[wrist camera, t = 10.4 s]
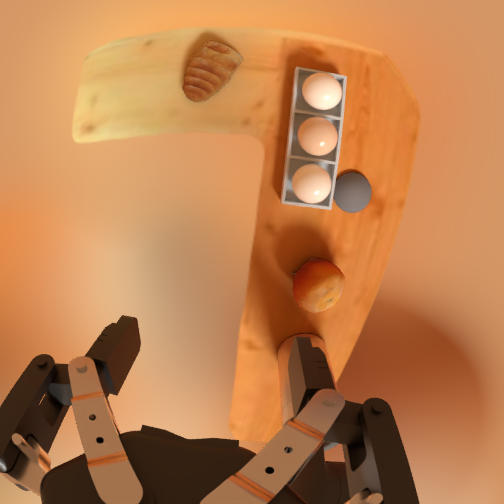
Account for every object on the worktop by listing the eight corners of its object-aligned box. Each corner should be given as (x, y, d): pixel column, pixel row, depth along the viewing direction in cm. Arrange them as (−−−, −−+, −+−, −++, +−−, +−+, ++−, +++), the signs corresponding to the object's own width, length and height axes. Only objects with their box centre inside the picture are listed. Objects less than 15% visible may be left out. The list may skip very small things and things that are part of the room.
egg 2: (323, 201, 38) (332, 209, 33) (287, 197, 38) (291, 204, 33) (328, 165, 36) (338, 168, 31) (292, 160, 36) (297, 162, 31)
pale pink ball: (333, 122, 33) (344, 118, 29) (329, 158, 35) (340, 159, 30) (297, 116, 33) (302, 111, 29) (293, 152, 35) (298, 152, 30)
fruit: (305, 238, 39) (337, 275, 34) (331, 254, 44) (360, 287, 39) (270, 278, 42) (295, 317, 36) (299, 288, 47) (323, 323, 41)
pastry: (213, 110, 34) (208, 106, 31) (173, 93, 33) (165, 88, 30) (246, 58, 31) (245, 49, 28) (206, 41, 30) (200, 32, 27)
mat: (366, 214, 39) (367, 215, 39) (330, 209, 39) (330, 209, 38) (373, 176, 37) (374, 176, 36) (336, 169, 37) (336, 169, 36)
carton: (327, 206, 39) (331, 209, 37) (280, 200, 39) (281, 203, 36) (341, 79, 32) (346, 76, 29) (294, 70, 32) (296, 66, 29)
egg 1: (334, 115, 33) (345, 111, 28) (297, 108, 33) (303, 103, 28) (337, 81, 31) (348, 73, 26) (300, 75, 31) (307, 64, 26)
